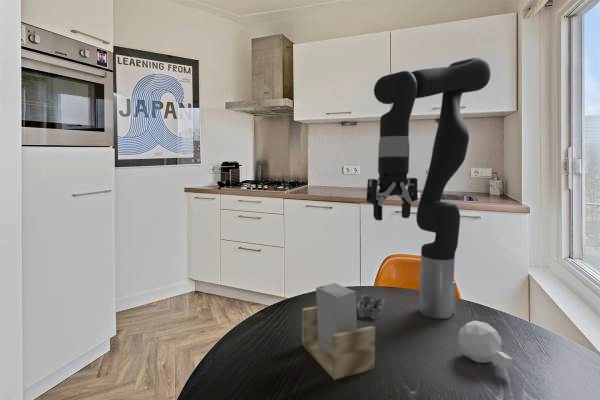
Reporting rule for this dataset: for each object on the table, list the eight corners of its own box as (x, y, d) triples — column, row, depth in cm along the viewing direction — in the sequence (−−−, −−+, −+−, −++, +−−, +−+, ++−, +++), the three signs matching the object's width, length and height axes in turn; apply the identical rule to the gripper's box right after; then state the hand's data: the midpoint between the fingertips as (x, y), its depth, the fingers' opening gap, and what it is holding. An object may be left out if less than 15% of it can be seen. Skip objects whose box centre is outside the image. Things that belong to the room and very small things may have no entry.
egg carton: (362, 304, 117) (363, 292, 116) (386, 308, 114) (386, 295, 113) (354, 316, 107) (354, 303, 107) (379, 321, 104) (379, 307, 104)
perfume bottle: (443, 345, 86) (483, 379, 75) (458, 310, 85) (501, 339, 74) (469, 349, 90) (512, 383, 79) (484, 315, 89) (529, 344, 78)
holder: (337, 336, 95) (337, 302, 94) (374, 368, 80) (375, 328, 79) (302, 344, 90) (302, 308, 90) (334, 379, 76) (334, 337, 75)
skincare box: (358, 355, 83) (359, 291, 82) (336, 363, 80) (337, 296, 78) (335, 340, 90) (336, 281, 89) (315, 346, 87) (315, 285, 86)
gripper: (406, 155, 99) (404, 215, 101) (361, 155, 93) (360, 218, 95) (426, 155, 92) (424, 219, 94) (379, 154, 86) (377, 223, 88)
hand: (392, 219), depth 94 cm, fingers open, 8 cm apart
